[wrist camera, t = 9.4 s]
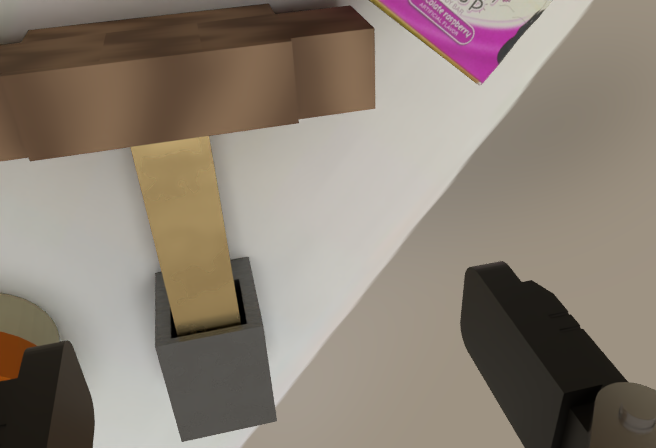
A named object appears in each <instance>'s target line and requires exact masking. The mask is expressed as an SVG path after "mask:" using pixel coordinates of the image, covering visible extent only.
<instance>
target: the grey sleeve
mask: <svg viewBox="0 0 656 448" xmlns="http://www.w3.org/2000/svg"><path fill="white" fill-rule="evenodd" d="M230 262H231V268H232V273H233V279H234V285H235V291H236V297H237V303H238V309H239V314H240V320H241V325H239V326H234V327H229V328H223V329H218V330H213V331H208V332H203V333H197V334H192V335H187V336H182V337H178V335H177V331H176V327H175V323H174V319H173V315H172V311H171V307H170V303H169V299H168V295H167V291H166V287H165V283H164V279H163V275H162V272H160V273H156V283H155V348H156V351H157V355H158V358H159V362H160V366H161V369H162V373H163V376H164V380H165V383H166V387H167V391H168V394H169V398H170V401H171V405H172V409H173V412H174V416H175V419H176V423H177V426H178V430H179V434H180V437H181V441H182V442H184V441H188V440H193V439H198V438H202V437H207V436H211V435H216V434H220V433H225V432H230V431H234V430H239V429H243V428H248V427H253V426H257V425H262V424H266V423H270V422H275V421H277V418H276V411H275V404H274V397H273V391H272V384H271V377H270V370H269V363H268V356H267V349H266V343H265V336H264V329H263V323H262V318H261V314H260V309H259V304H258V299H257V295H256V290H255V285H254V280H253V276H252V271H251V266H250V261H249V257H246V258H240V259H235V260H230Z"/></svg>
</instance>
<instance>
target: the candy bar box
mask: <svg viewBox="0 0 656 448" xmlns="http://www.w3.org/2000/svg"><path fill="white" fill-rule="evenodd" d="M369 1H370V2H372V3H373V4H374V5H376V6H377V7H378V8H380V9H381V10H382V11H383V12H384V13H386V14H387V15H388V16H390V17H391V18H392V19H394V20H395V21H396V22H397V23H399V24H400V25H401V26H403V27H404V28H405V29H407V30H408V31H409V32H411V33H412V34H413V35H414V36H416V37H417V38H418V39H420V40H421V41H422V42H424V43H425V44H426V45H427V46H429V47H430V48H431V49H433V50H434V51H435V52H437V53H438V54H439V55H440V56H442V57H443V58H444V59H446V60H447V61H448V62H450V63H451V64H452V65H453V66H455V67H456V68H457V69H459V70H460V71H461V72H462V73H464V74H465V75H466V76H467V77H469V78H470V79H471V80H473V81H474V82H475V83H476V84H478V85H482V83H483V82H484V81H485V80H486V79H487V78H488V77H489V75H490V74H491V73H492V72H493V71H494V70H495V69H496V67H497V66H498V65H499V64H500V62H501V61H502V60H503V59H504V57H505V56H506V55H507V53H508V52H509V51H510V50H511V48H512V47H513V46H514V44H515V43H516V42H517V40H518V39H519V38H520V37H521V36H522V35H523V34H524V33H525V31H526V30H527V29H528V28H529V27H530V26H531V25H532V24H533V23H534V22H535V21H536V20H537V19H538V18H539V17H540V15H541V14H542V12H543V11H544V10H545V9H546V8H547V7H548V5H549V4H550V3H551V2H552V1H553V0H369Z"/></svg>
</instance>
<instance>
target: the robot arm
mask: <svg viewBox="0 0 656 448" xmlns="http://www.w3.org/2000/svg"><path fill="white" fill-rule="evenodd" d="M460 323H461V333H462V338H463V341H464V344H465V347H466V349H467V351H468V353H469V354H470V356H471V358H472V359H473V361H474V363H475V364H476V366H477V368H478V370H479V371H480V373H481V374H482V376H483V378H484V380H485V381H486V383H487V385H488V386H489V388H490V390H491V391H492V393H493V395H494V396H495V398H496V400H497V402H498V403H499V405H500V407H501V408H502V410H503V412H504V413H505V415H506V417H507V418H508V420H509V422H510V423H511V425H512V427H513V428H514V430H515V432H516V433H517V435H518V437H519V438H520V440H521V442H522V444H523V445H524V447H525V448H656V390H654V389H651V388H649V387H647V386H644V385H641V384H636V383H629V382H628V381H627V380H626V379H625V378H624V377H623V376H622V374H621V373H620V372H619V371H618V370H617V369H616V367H615V366H614V365H613V364H612V363H611V361H610V360H609V359H608V358H607V357H606V356H605V354H604V353H603V352H602V351H601V350H600V348H599V347H598V346H597V345H596V344H595V342H594V341H593V340H592V339H591V338H590V336H589V335H588V334H587V333H586V332H585V331H584V329H581V328H580V325H579V324H578V322H577V321H576V320H575V319H574V318H573V316H572V315H569V314H568V311H567V309H566V308H565V307H564V306H563V305H562V303H561V302H560V301H559V300H558V299H557V298H556V296H555V295H554V294H553V293H551V292H550V291H548V290H546V289H545V288H543V287H542V286H540V285H538V284H537V283H535V282H534V281H532V280H531V281H526V282H521V281H520V279H519V278H518V277H517V276H516V275H515V273H514V272H513V271H512V269H511V268H510V267H509V266H508V265H507V264H506V263H505V262H503V261H500V262H495V263H489V264H485V265H479V266H473V267H469V268H468V269H467V271H466V273H465V280H464V290H463V300H462V310H461V322H460ZM94 426H95V420H94V408H93V402H92V398H91V394H90V392H89V389H88V386H87V383H86V381H85V378H84V375H83V373H82V370H81V367H80V364H79V362H78V359H77V356H76V354H75V351H74V348H73V346H72V344H71V343H70V341H62V342H57V343H51V344H46V345H41V346H35V347H30V348H27V349H26V350H25V351H24V354H23V357H22V362H21V366H20V370H19V374H18V378H15V379H10V380H4V381H0V448H93V437H94Z"/></svg>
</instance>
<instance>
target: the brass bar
mask: <svg viewBox="0 0 656 448" xmlns="http://www.w3.org/2000/svg"><path fill="white" fill-rule="evenodd" d="M131 151H132V155H133V159H134V163H135V167H136V171H137V175H138V179H139V183H140V187H141V191H142V195H143V199H144V203H145V207H146V211H147V215H148V219H149V223H150V227H151V231H152V235H153V239H154V243H155V247H156V251H157V255H158V259H159V263H160V267H161V271H162V275H163V279H164V283H165V287H166V291H167V295H168V299H169V303H170V307H171V311H172V315H173V319H174V323H175V327H176V331H177V335H178V337H182V336H187V335H192V334H197V333H203V332H208V331H213V330H218V329H223V328H229V327H234V326H239V325H241V320H240V314H239V309H238V303H237V297H236V291H235V285H234V279H233V273H232V268H231V262H230V256H229V250H228V244H227V238H226V233H225V227H224V221H223V215H222V209H221V203H220V197H219V192H218V186H217V180H216V174H215V168H214V162H213V157H212V151H211V145H210V139H209V136H204V137H197V138H190V139H183V140H176V141H169V142H162V143H155V144H148V145H141V146H134V147H131Z"/></svg>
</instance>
